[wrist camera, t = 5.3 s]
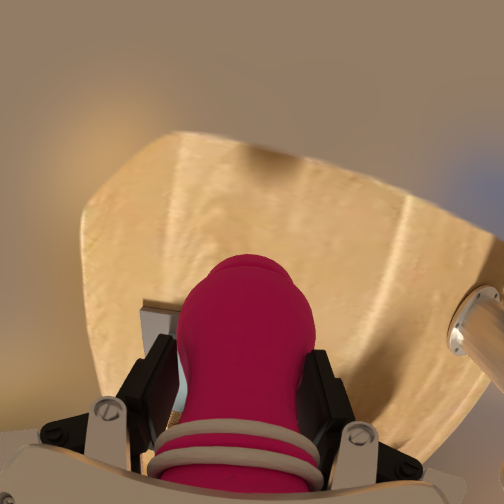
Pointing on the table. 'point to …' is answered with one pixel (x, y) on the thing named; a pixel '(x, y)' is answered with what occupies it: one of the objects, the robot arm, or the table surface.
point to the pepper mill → (242, 384)
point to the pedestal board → (151, 328)
